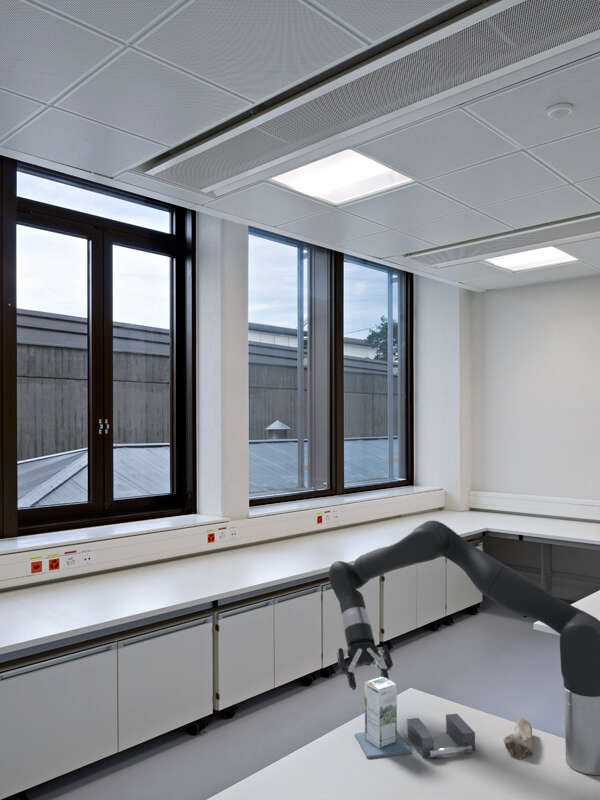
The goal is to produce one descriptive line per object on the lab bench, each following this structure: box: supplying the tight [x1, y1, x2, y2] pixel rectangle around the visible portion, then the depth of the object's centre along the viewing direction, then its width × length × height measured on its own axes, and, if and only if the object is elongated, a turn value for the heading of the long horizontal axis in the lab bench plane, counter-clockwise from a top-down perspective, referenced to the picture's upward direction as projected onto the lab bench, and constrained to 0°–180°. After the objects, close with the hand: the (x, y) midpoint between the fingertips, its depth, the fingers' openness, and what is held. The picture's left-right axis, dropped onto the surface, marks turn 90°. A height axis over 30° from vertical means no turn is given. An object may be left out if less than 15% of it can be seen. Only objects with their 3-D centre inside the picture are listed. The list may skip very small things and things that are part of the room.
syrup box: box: [364, 676, 398, 748], centre depth 156 cm, size 6×6×14 cm
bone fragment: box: [503, 717, 533, 760], centre depth 155 cm, size 14×6×5 cm, turn 148°
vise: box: [406, 713, 476, 759], centre depth 155 cm, size 13×12×4 cm
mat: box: [354, 730, 412, 760], centre depth 156 cm, size 11×11×1 cm
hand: (370, 687), depth 164 cm, fingers open, 8 cm apart
